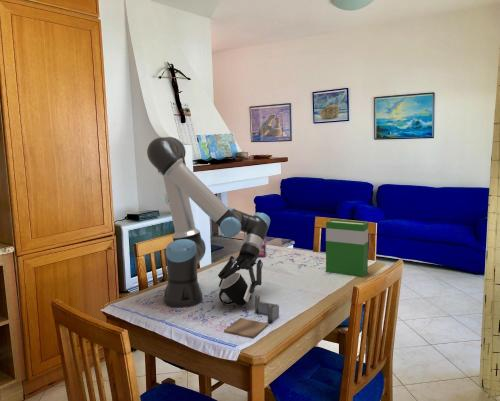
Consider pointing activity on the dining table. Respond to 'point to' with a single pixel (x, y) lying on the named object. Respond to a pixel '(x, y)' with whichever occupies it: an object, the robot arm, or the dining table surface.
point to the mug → (234, 289)
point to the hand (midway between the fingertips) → (232, 298)
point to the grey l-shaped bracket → (267, 309)
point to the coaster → (246, 328)
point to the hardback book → (347, 247)
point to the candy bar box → (263, 248)
